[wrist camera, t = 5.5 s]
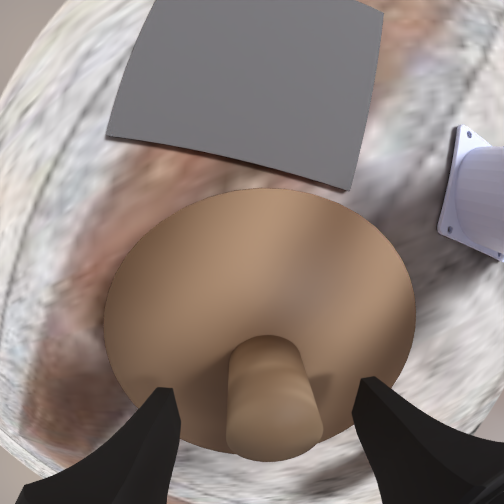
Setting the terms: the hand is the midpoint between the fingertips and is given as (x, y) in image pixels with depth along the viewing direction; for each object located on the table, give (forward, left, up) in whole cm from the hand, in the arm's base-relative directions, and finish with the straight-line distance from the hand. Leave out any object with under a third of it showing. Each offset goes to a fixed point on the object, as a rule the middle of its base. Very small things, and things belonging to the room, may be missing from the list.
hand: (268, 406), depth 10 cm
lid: (0, -1, -3) cm, 3 cm away
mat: (+4, -15, -8) cm, 17 cm away
